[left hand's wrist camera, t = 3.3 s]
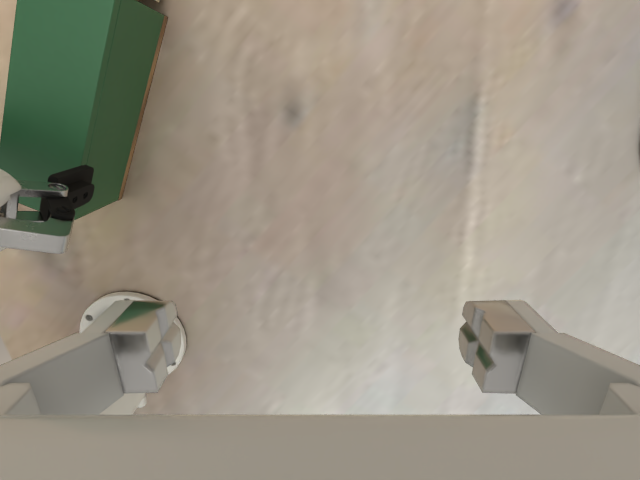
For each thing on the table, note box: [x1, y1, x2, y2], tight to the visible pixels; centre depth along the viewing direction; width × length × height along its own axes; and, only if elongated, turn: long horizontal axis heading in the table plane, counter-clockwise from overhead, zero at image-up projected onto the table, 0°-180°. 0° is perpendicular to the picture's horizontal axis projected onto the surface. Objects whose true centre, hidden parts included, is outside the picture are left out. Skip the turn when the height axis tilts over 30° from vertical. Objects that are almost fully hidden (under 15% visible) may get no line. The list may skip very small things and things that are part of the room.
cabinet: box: [0, 0, 168, 220], centre depth 31 cm, size 18×6×8 cm, turn 156°
